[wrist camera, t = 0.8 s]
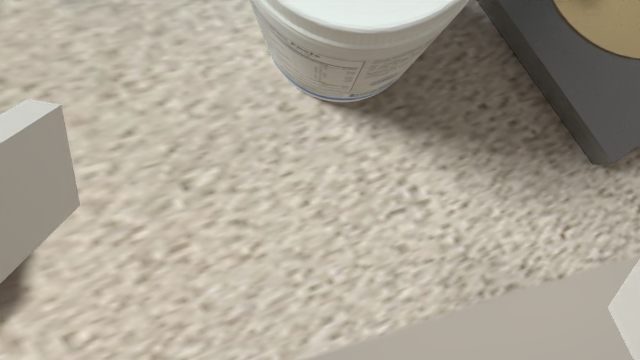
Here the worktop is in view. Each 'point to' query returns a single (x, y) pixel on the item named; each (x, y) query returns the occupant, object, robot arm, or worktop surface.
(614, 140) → the arbor press
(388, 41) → the supplement tub
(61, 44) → the worktop surface
